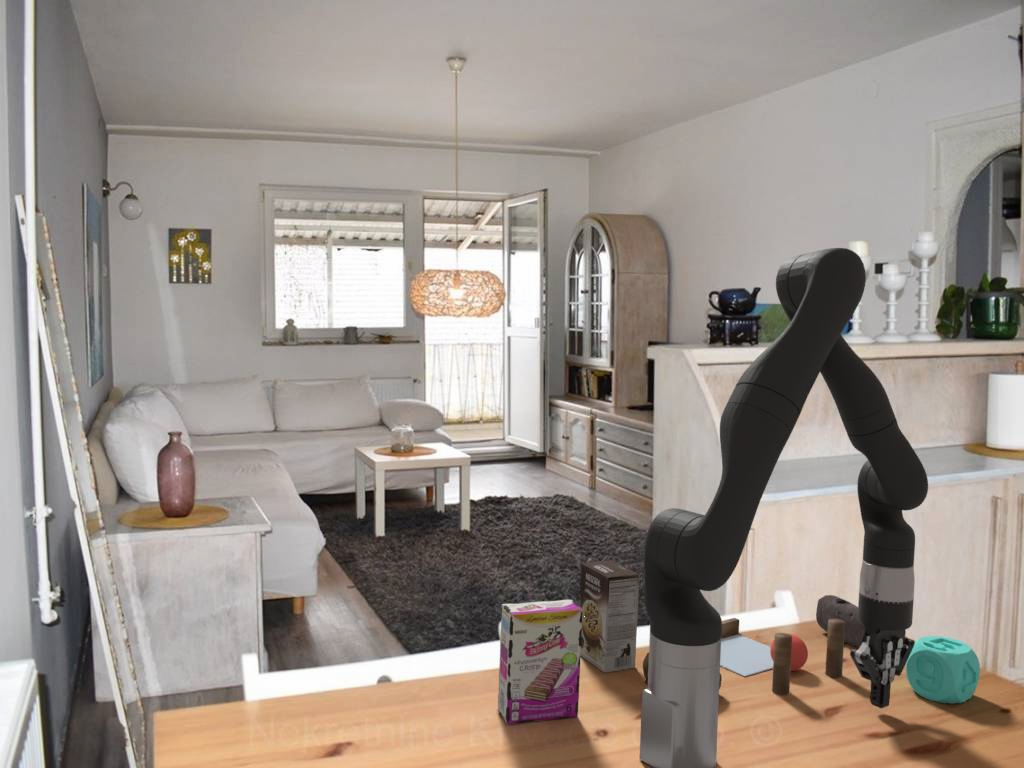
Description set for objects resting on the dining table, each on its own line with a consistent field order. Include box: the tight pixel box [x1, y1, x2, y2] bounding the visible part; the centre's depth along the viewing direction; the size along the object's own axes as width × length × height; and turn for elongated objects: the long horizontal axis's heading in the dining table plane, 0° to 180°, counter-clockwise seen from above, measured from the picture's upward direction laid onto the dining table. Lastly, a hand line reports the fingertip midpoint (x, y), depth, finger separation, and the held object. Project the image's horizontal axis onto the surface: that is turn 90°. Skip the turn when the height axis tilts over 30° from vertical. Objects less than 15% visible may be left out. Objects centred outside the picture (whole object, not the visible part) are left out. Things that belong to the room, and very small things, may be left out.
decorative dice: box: [905, 635, 981, 704], centre depth 147 cm, size 8×8×8 cm
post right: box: [824, 619, 845, 679], centre depth 154 cm, size 3×3×9 cm
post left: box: [771, 632, 792, 696], centre depth 146 cm, size 3×3×9 cm
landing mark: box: [720, 633, 773, 678], centre depth 162 cm, size 14×14×1 cm
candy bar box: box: [497, 599, 583, 725], centre depth 136 cm, size 11×5×16 cm, turn 108°
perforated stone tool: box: [815, 594, 864, 649], centre depth 169 cm, size 15×5×7 cm, turn 20°
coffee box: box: [579, 559, 640, 673], centre depth 157 cm, size 9×6×16 cm
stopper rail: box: [721, 617, 740, 638], centre depth 169 cm, size 16×1×2 cm, turn 124°
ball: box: [770, 633, 809, 672], centre depth 155 cm, size 6×6×6 cm
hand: (879, 705), depth 140 cm, fingers closed
